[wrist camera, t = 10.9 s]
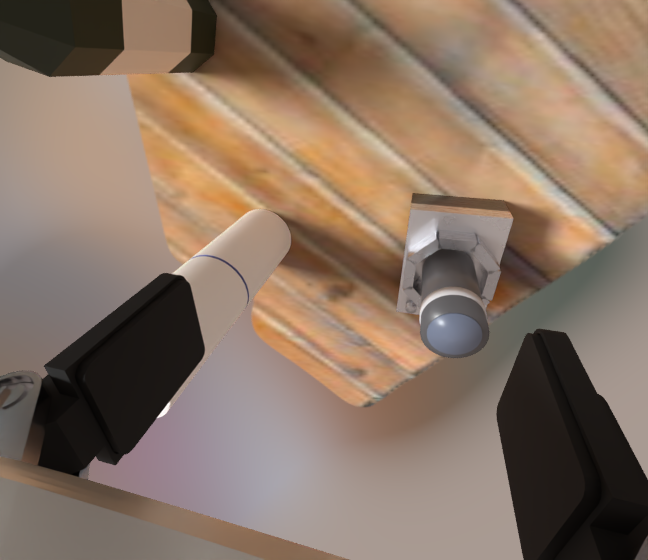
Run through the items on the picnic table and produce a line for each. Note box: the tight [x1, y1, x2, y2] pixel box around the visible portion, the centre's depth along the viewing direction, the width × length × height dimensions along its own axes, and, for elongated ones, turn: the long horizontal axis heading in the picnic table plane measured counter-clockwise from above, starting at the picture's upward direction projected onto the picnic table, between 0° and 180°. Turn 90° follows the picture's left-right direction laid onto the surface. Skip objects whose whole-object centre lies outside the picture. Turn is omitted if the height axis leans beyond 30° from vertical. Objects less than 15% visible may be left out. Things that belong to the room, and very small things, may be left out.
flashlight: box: [419, 249, 489, 358], centre depth 31 cm, size 5×5×10 cm
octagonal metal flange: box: [396, 193, 514, 315], centre depth 37 cm, size 12×9×7 cm
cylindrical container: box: [157, 209, 291, 418], centre depth 34 cm, size 7×7×25 cm
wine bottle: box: [0, 0, 217, 77], centre depth 22 cm, size 8×8×30 cm
